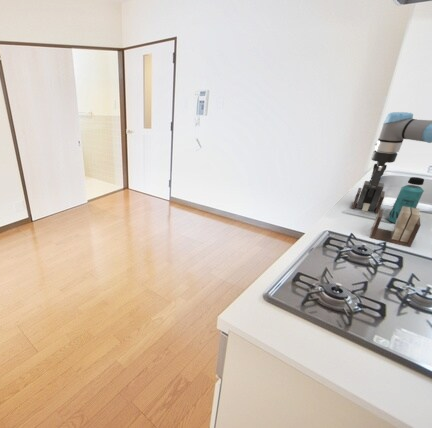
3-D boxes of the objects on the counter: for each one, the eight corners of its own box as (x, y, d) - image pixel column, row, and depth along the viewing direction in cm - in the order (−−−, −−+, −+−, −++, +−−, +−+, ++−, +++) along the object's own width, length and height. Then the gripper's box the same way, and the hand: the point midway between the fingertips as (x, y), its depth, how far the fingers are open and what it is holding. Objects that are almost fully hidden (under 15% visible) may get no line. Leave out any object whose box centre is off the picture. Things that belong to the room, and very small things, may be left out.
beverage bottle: (383, 219, 119) (402, 174, 111) (404, 222, 116) (424, 176, 108) (389, 226, 114) (409, 179, 106) (411, 229, 111) (433, 181, 103)
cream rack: (409, 237, 106) (422, 208, 101) (410, 247, 100) (424, 217, 95) (371, 229, 113) (382, 201, 108) (370, 237, 107) (381, 209, 102)
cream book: (368, 206, 130) (376, 183, 125) (367, 212, 124) (375, 188, 120) (362, 205, 131) (370, 183, 126) (361, 211, 126) (369, 188, 121)
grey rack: (377, 209, 128) (388, 182, 123) (376, 216, 122) (387, 188, 117) (352, 205, 134) (361, 179, 128) (350, 211, 128) (359, 184, 122)
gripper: (375, 145, 127) (359, 188, 136) (372, 156, 111) (354, 205, 120) (398, 146, 122) (380, 191, 132) (398, 159, 106) (377, 209, 115)
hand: (367, 198), depth 126 cm, fingers open, 13 cm apart
